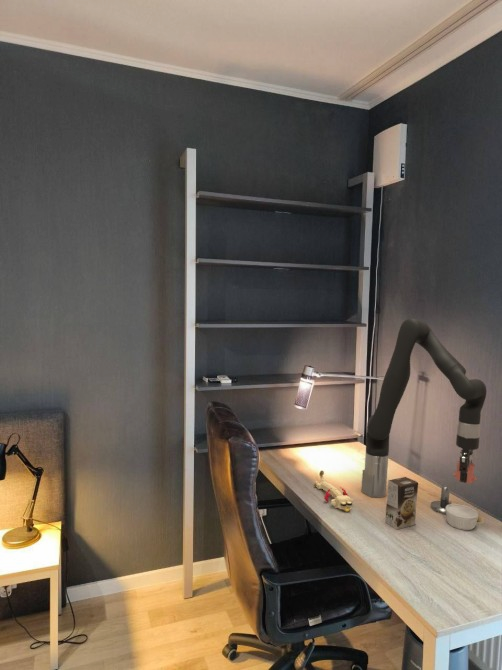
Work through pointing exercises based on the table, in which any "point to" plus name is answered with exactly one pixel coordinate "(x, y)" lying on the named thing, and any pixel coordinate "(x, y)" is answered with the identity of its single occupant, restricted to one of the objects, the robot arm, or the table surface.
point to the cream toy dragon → (334, 494)
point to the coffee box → (401, 502)
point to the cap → (469, 474)
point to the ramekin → (461, 516)
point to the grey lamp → (442, 500)
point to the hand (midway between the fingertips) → (464, 479)
